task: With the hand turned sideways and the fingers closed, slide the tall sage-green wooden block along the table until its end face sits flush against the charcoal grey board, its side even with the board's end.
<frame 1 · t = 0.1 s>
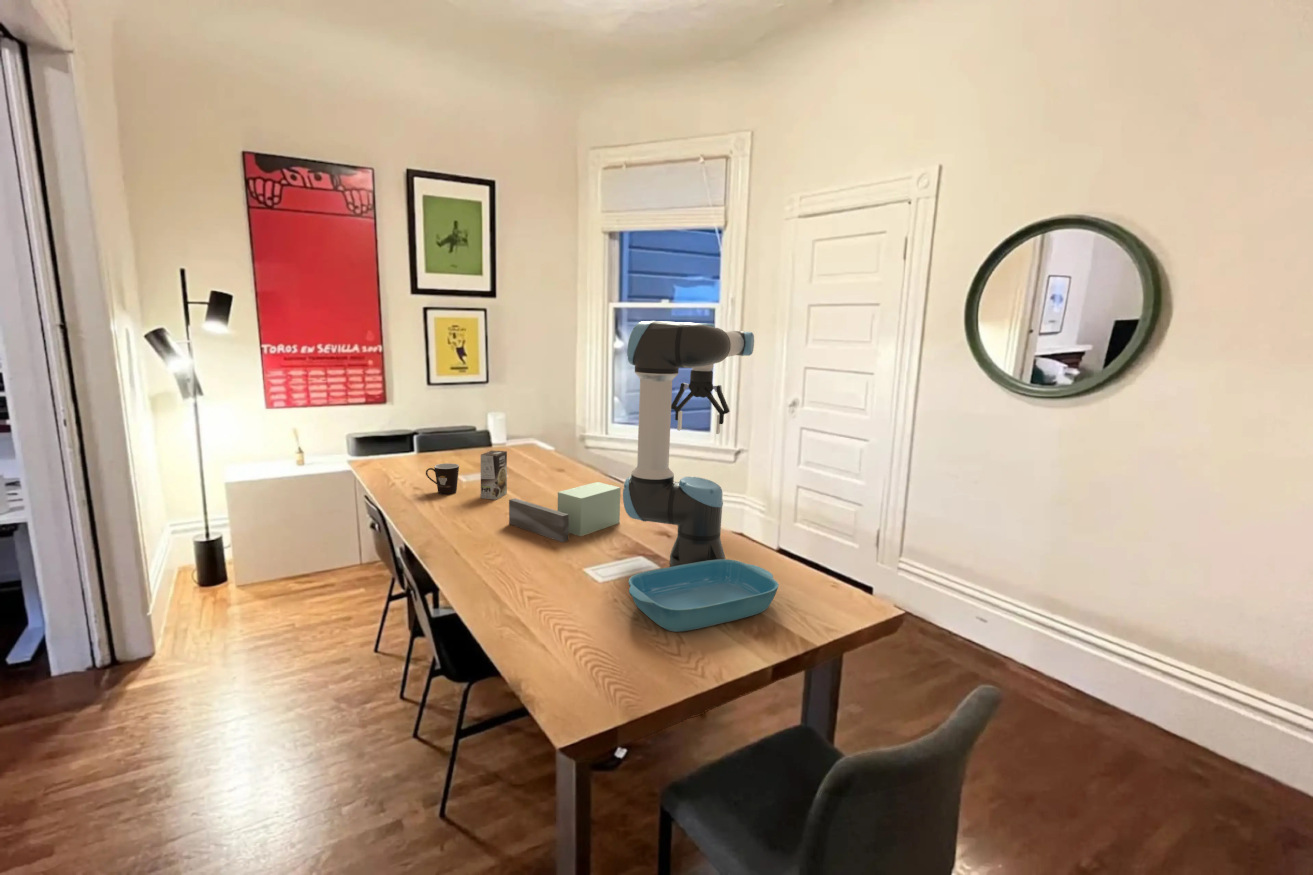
hand: (698, 431, 218), 28 cm above the table, tool pointing down, fingers open, 13 cm apart
coffee box: (494, 496, 231), on the table
casserole dish: (702, 609, 147), on the table
charcoal board: (537, 531, 194), on the table
sage block: (589, 526, 202), on the table
coffee mug: (444, 492, 234), on the table
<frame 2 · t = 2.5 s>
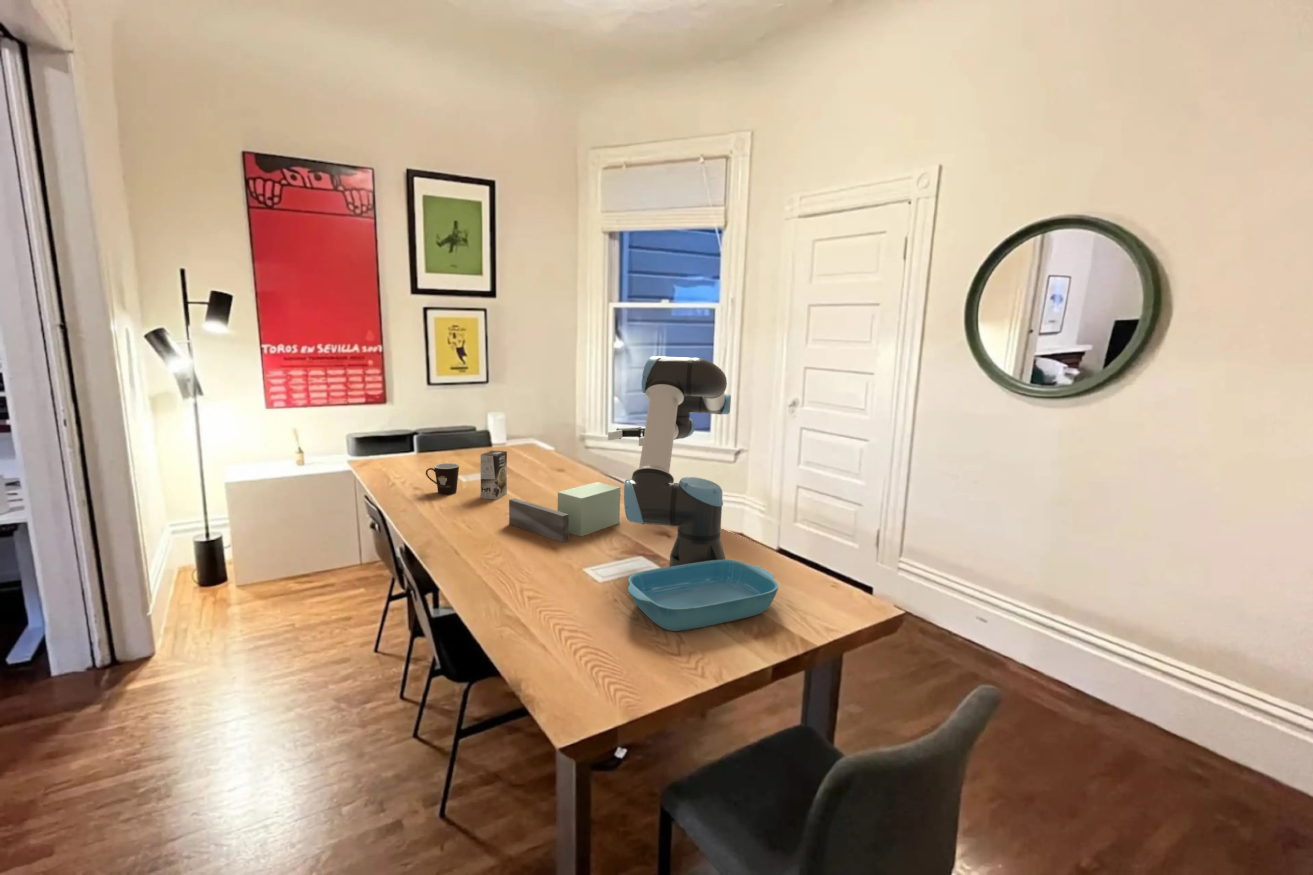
hand: (623, 439, 209), 26 cm above the table, tool horizontal, fingers open, 13 cm apart
nothing on the table moved.
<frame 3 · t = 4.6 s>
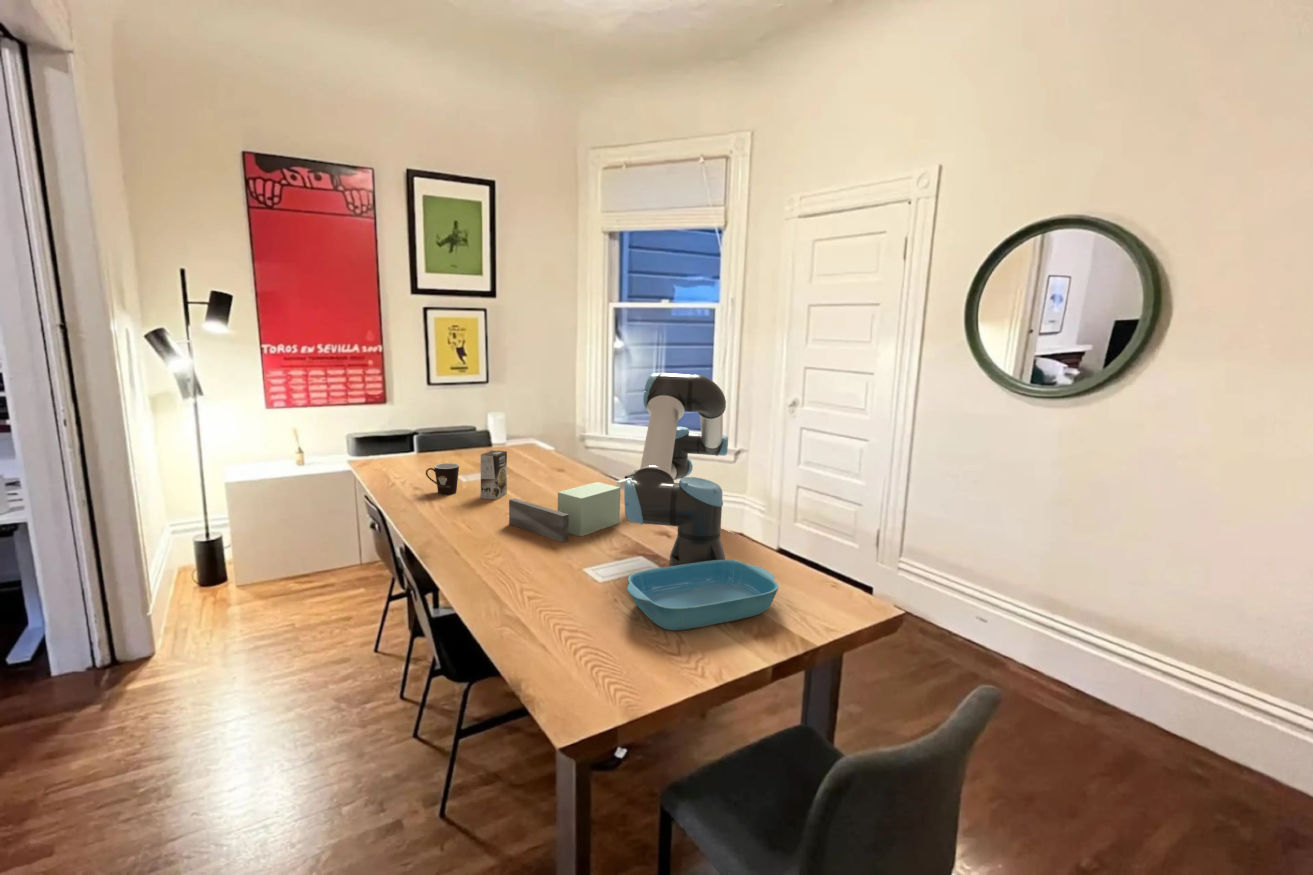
hand: (618, 485, 211), 11 cm above the table, tool horizontal, fingers closed
nothing on the table moved.
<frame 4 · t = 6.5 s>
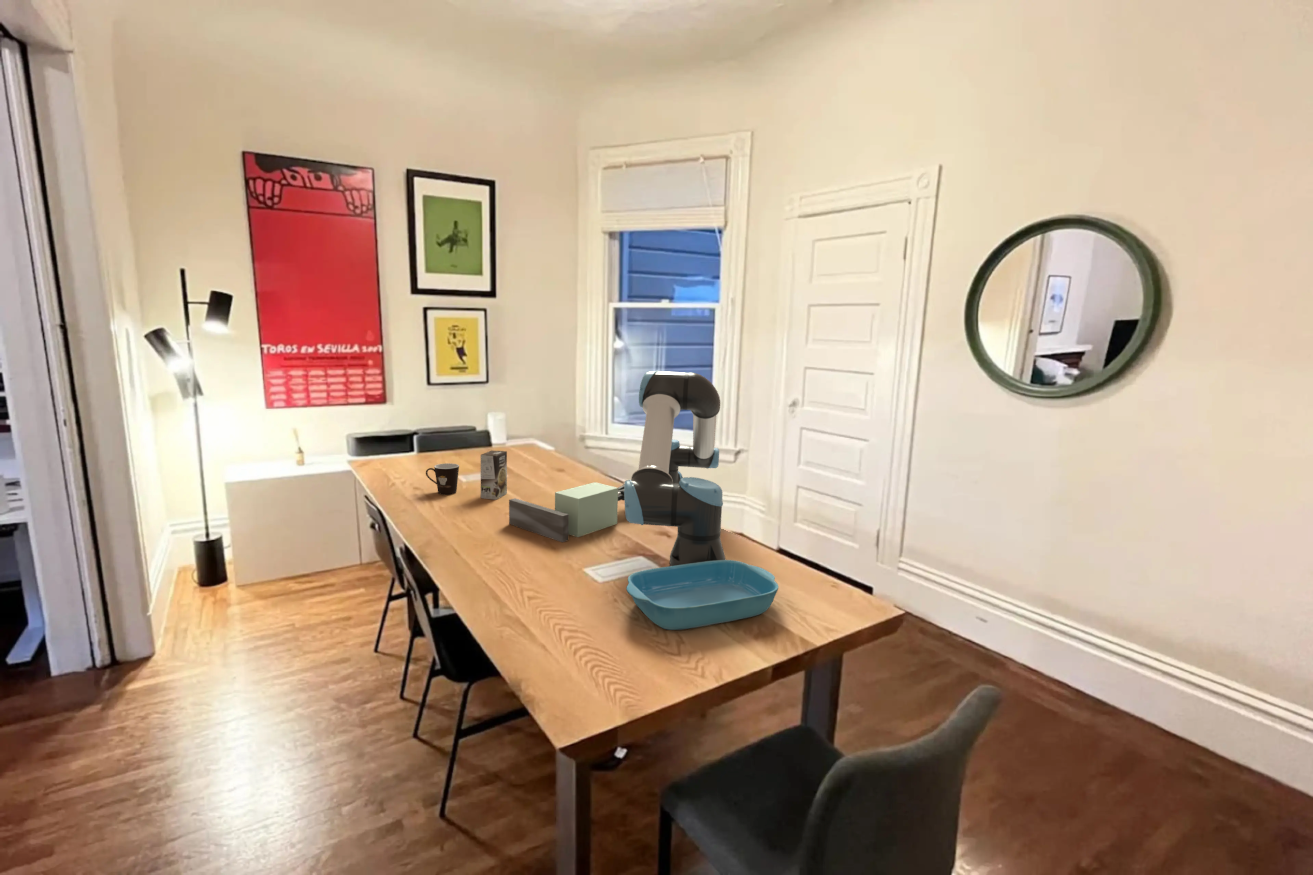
hand: (606, 499, 207), 7 cm above the table, tool horizontal, fingers closed
sage block: (586, 526, 201), on the table
everything else where it was.
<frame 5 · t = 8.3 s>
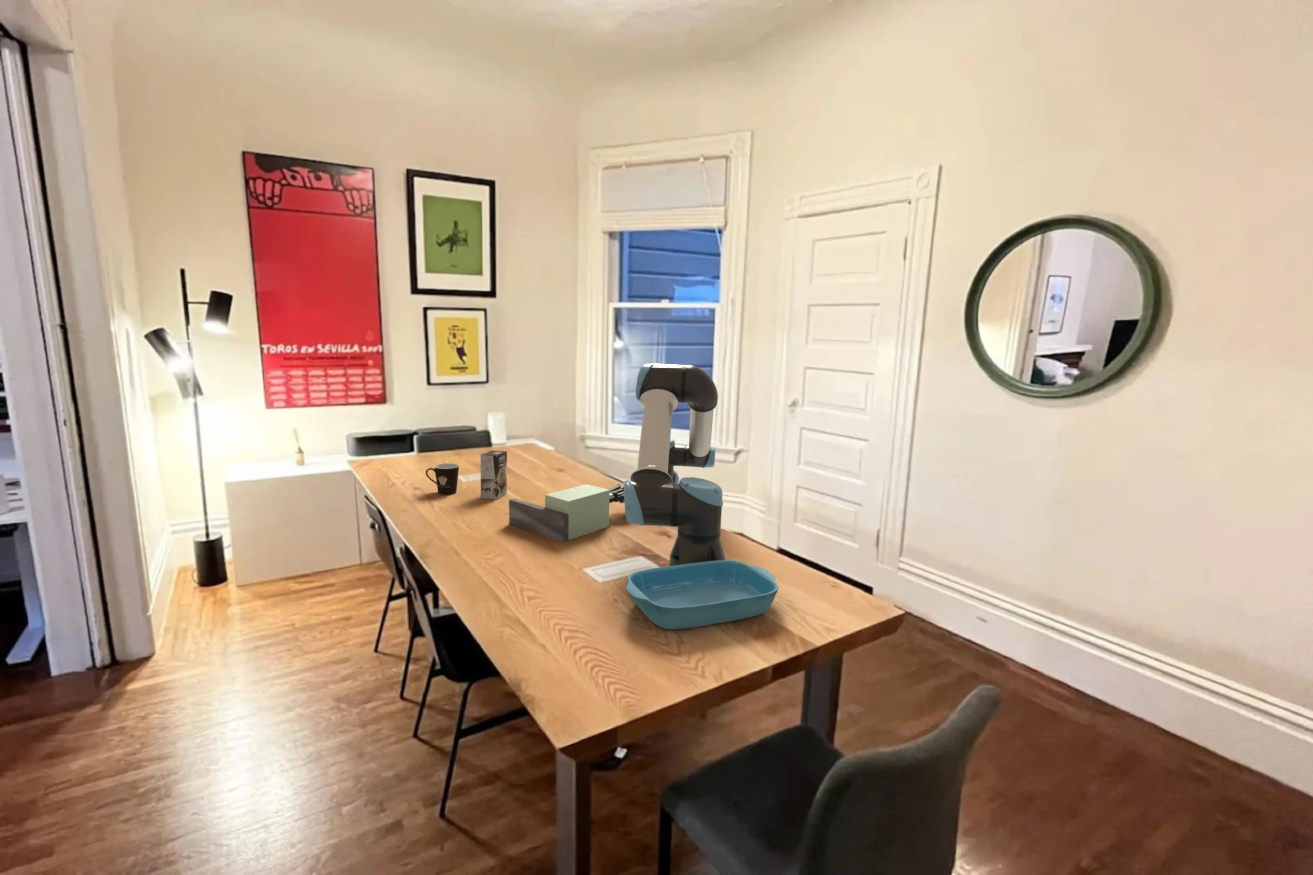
hand: (597, 501, 204), 7 cm above the table, tool horizontal, fingers closed
sage block: (577, 529, 198), on the table, touching charcoal board, gripper
everything else where it was.
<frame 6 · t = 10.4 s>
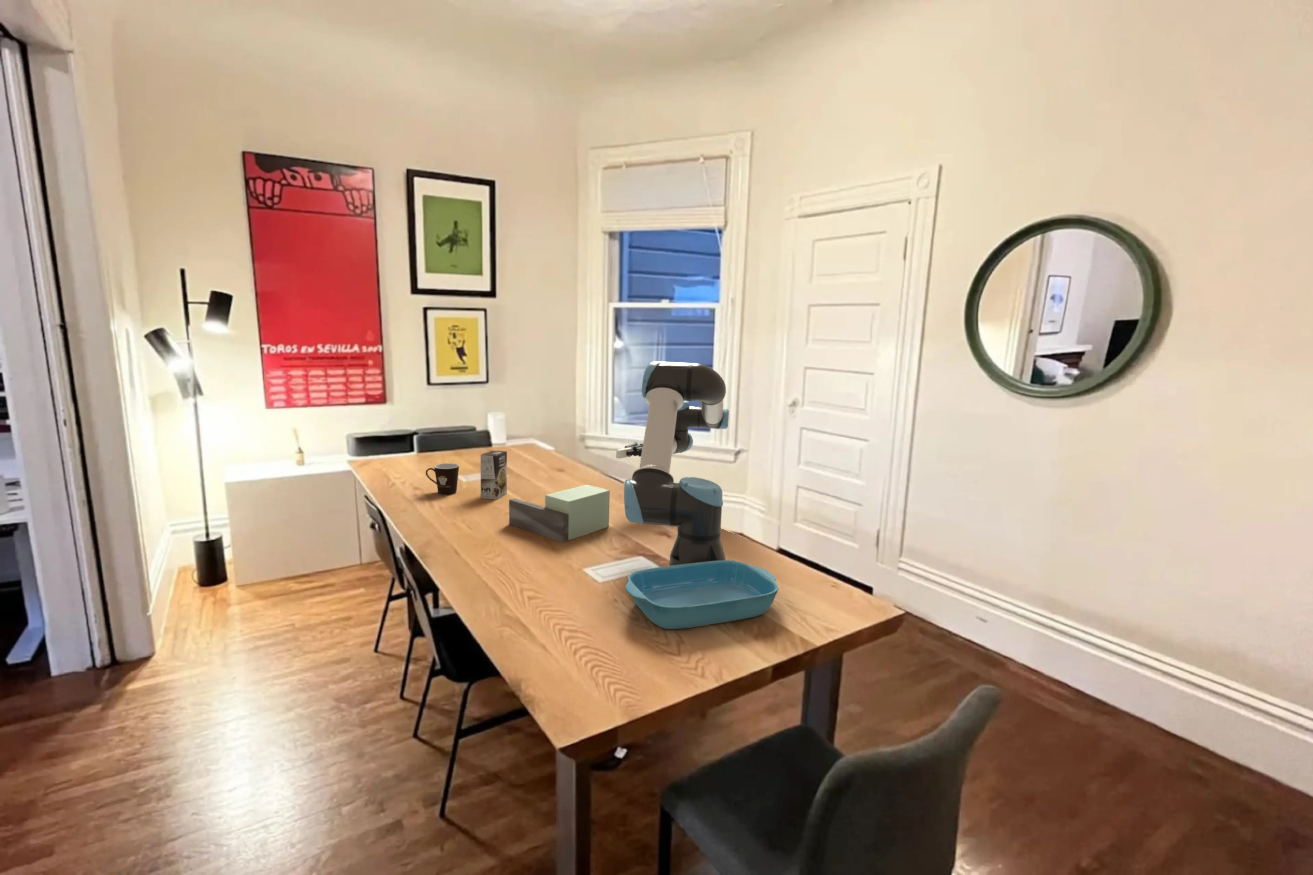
hand: (618, 454, 208), 21 cm above the table, tool horizontal, fingers closed
sage block: (577, 529, 198), on the table
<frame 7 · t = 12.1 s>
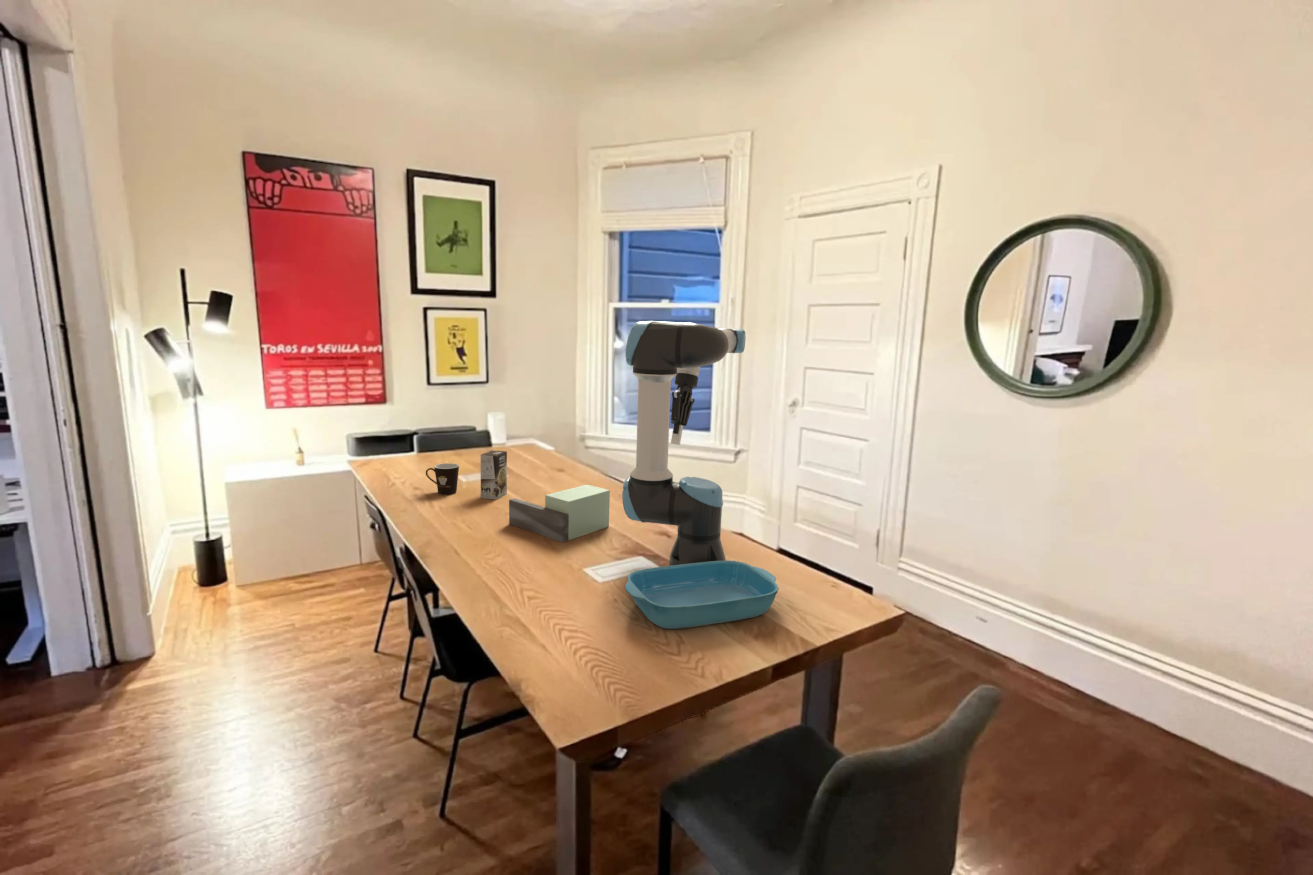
hand: (675, 444, 210), 25 cm above the table, tool tilted 15°, fingers closed
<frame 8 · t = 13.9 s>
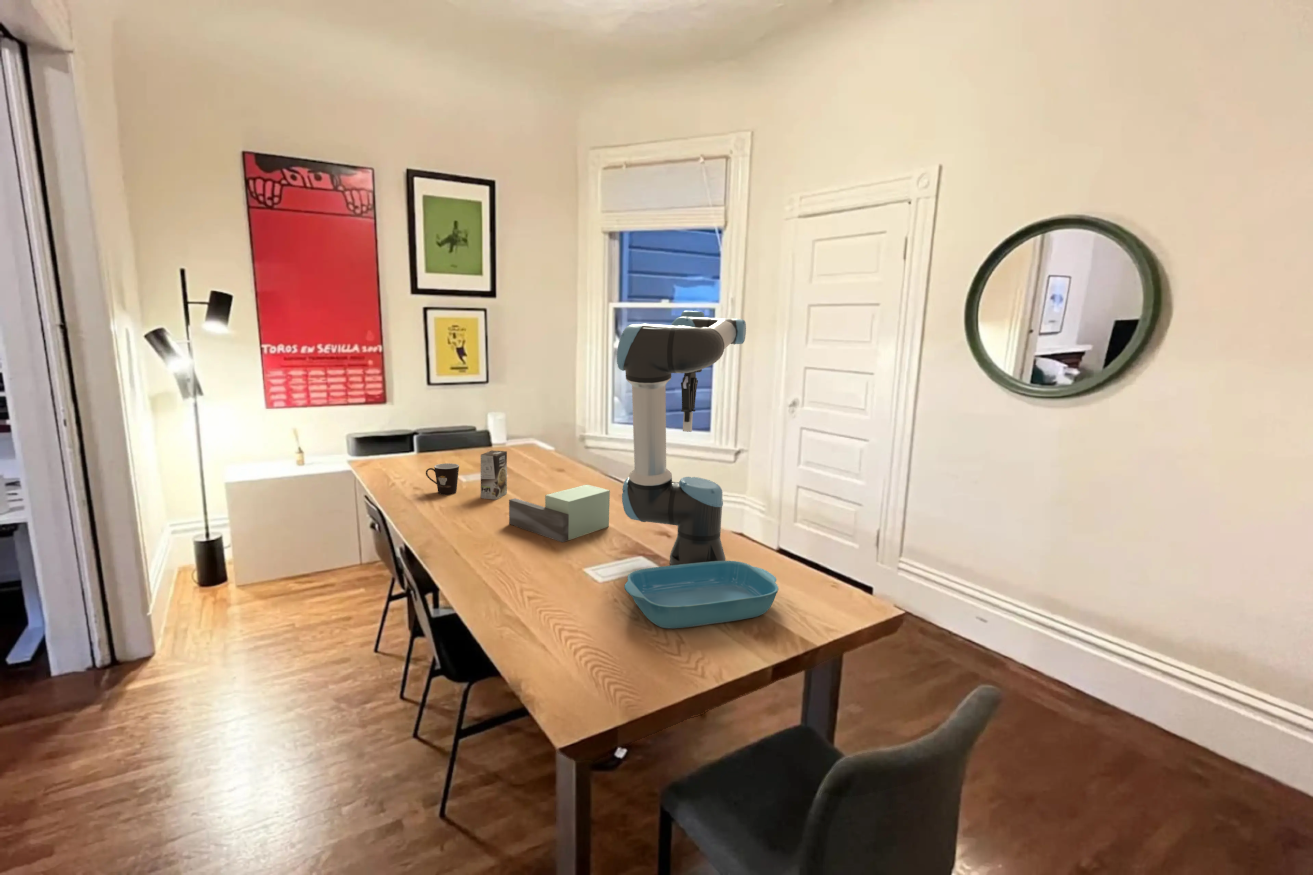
hand: (687, 431, 210), 29 cm above the table, tool pointing down, fingers closed
at the end: sage block 0.6 cm from the target spot on the table beside the charcoal board, on the table; sage block tilted 0°; sage block moved 5.0 cm from its start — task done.
